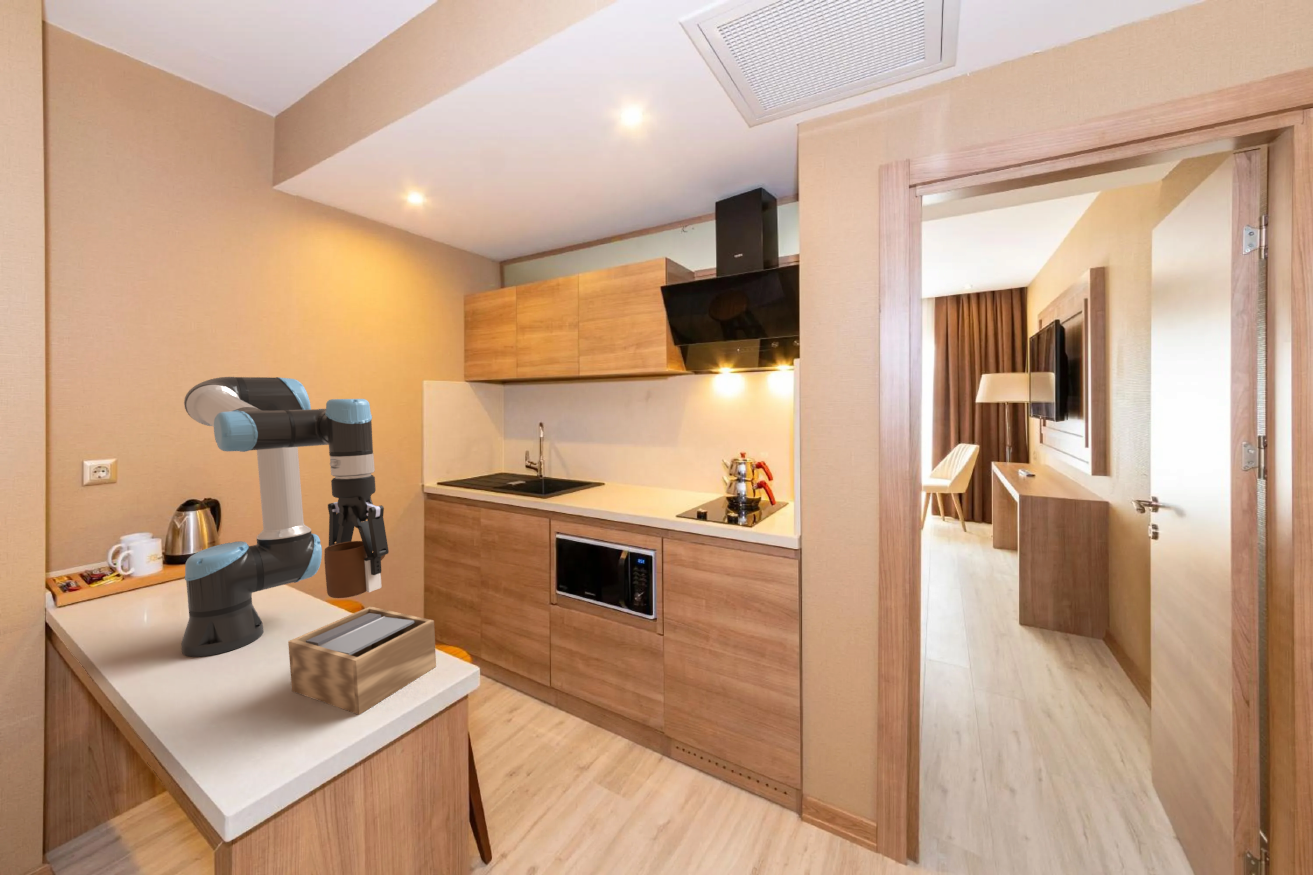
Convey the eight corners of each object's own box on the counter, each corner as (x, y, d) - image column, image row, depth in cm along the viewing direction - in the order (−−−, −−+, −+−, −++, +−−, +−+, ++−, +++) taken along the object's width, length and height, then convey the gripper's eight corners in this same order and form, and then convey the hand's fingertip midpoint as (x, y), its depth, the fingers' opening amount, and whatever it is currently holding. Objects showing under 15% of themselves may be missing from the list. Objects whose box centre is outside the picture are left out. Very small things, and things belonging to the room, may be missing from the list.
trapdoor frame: (291, 691, 101) (288, 641, 100) (373, 649, 118) (370, 606, 117) (359, 714, 93) (356, 660, 93) (436, 666, 110) (433, 620, 109)
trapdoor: (305, 659, 101) (303, 641, 101) (373, 628, 115) (371, 612, 115) (350, 669, 96) (348, 649, 96) (415, 634, 109) (414, 617, 109)
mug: (377, 576, 109) (374, 533, 108) (399, 581, 105) (397, 537, 105) (318, 595, 98) (315, 548, 98) (341, 601, 95) (337, 553, 94)
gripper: (302, 476, 101) (310, 586, 103) (370, 481, 93) (377, 601, 94) (338, 471, 108) (345, 574, 109) (405, 475, 99) (411, 587, 101)
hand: (360, 586), depth 102 cm, fingers closed on mug, 7 cm apart
